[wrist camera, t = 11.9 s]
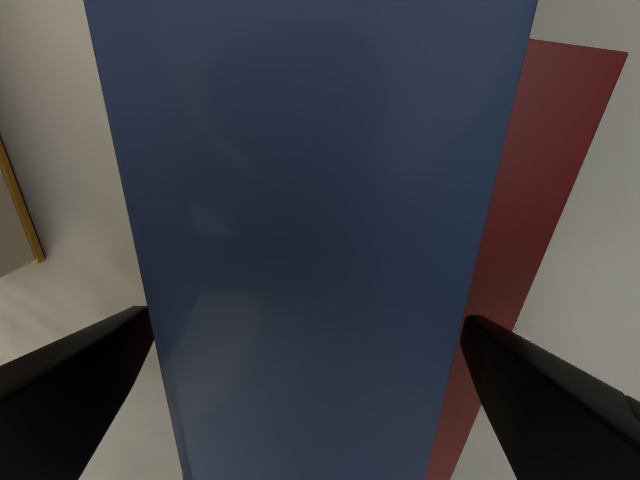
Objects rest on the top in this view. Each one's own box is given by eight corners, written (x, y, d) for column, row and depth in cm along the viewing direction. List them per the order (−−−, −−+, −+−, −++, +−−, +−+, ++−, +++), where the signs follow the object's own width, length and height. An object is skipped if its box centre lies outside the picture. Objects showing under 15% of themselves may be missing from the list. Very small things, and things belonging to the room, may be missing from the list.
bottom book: (421, 440, 16) (440, 503, 13) (206, 421, 16) (183, 482, 13) (548, 68, 10) (630, 51, 7) (194, 22, 9) (145, -14, 7)
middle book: (386, 465, 12) (404, 565, 10) (227, 461, 12) (200, 560, 10) (457, 22, 7) (548, -41, 4) (171, 14, 7) (70, -55, 4)
